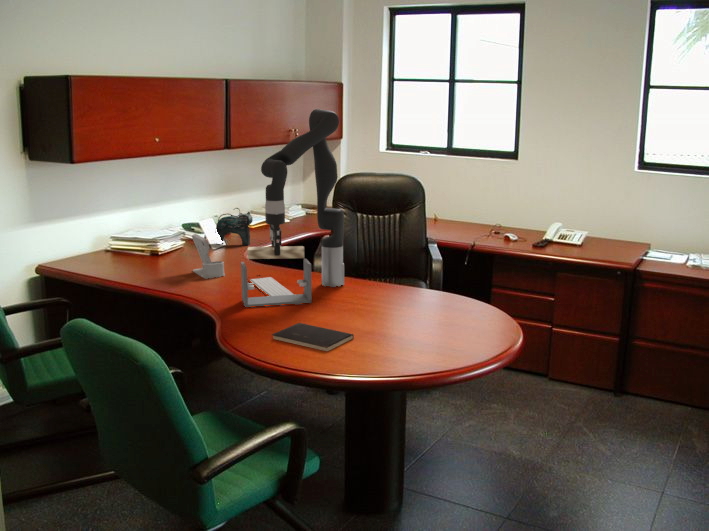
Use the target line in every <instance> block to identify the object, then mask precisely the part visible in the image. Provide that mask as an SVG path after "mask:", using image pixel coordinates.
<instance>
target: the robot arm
mask: <svg viewBox="0 0 709 531" xmlns="http://www.w3.org/2000/svg"><path fill="white" fill-rule="evenodd" d="M308 117H309V118H308V125H309V128H308V129H309V131H307V132H305V133H303V134H301V135H299V136H296V137H295V138H293V139H291V140H290V141H289V142H287V144H286V145H285V146H283V148H282V149H281V150H278V151H277V152H275V153H274V154H272V155H271V156H269V157H267V158H266V159H265V160H264V161H263V162H262V164H261V168H260V169H261V170H260V172H261V174H262V175H263V176H264V177H266V178H269V179H272V180H271V183H270V184H267V185H266V187H265V206H264V212H265V224H267V225H269V238H270V244H271V247H274V255H275V256H279V255H280V246H282V228H281V227H280V225H284V224H285V223H286V207H285V206H286V205H285V191H284V189H285V185H286V181H287V177H288V167H287V166H291V165H293V164H294V163H296V162H297V161H298V160H299V159H300V158H301V157H302V156H303V155H304V154H305V153H307V151H309V150H310V149H311V148H312V150H313V151H312V152H313V160H314V162H313V163H314V175H315V177H314V178H315V186H316V199H317V200H316V205H317V208H316V209H317V210H316V213H317V214H316V216H317V220H316V221H317V224H318V225H317V226H318V228H319V229H320V230H324V231H333V234H331V235H330V236H327V237H324V238H322V239H321V285H322V286H323V285H324V286H323V287H326V286H330V287H329V288H337V287H336V286H338V287H341V285H343V286H345V263H344V237H345V236H344V231H345V230H344V229H345V213H344V210H343V209H341V208H334V207H332V208H331V207H330V208H329V207H328V206H327V205H328V200H329V199H328V198H329V196H330V194H331V192H332V191H333V189H334V187H335V185H336V184H337V181H338V164H337V161H336V158H335V157H334V154H333V153H332V151H331V149H330V147H329V145H328V142H327V137H329V136H331V135H332V134H333V133H334V132H336V130H337V129H338V127H339V124H340V119H339V116H338V114H337V113H336V112H334V111H332V110H328V109H320V108H316V109H313V110H312V111H311V113H310V114H309V116H308Z"/></svg>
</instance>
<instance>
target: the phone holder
mask: <svg viewBox="0 0 709 531" xmlns="http://www.w3.org/2000/svg"><path fill="white" fill-rule="evenodd" d="M191 238H192V241H193V242H194V245H195V247H196V250H197V252H198V255H199V257H200V259H201V263H202V265H201V266H202V267H201V268H194V269H192V272H193V273H195V274H196V275H198V276H199V277H201V278H203V279H204V280H205V279H206V280H208V278H209V279H214V277H216V278H222V277H221V276H224V277H225V276H226V273H225V264H224V263H225V262H224V261H222V260H215V261H212V260H211V258H210V256H209V255H210V254H209V252H210V248H211V247H210V244H209V242H208V241H207V239H206V238H204V237H203V236H201V235H199V234H197V233H194V234H192V235H191Z"/></svg>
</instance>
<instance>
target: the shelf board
mask: <svg viewBox="0 0 709 531" xmlns="http://www.w3.org/2000/svg"><path fill="white" fill-rule="evenodd" d="M246 252H247V254H246V255H247V260H262V259H264V260H266V259H267V260H270V259H274V260H275V259H305V246H303V245H294V246H292V245H291V246H282V245H281V246H280V255H279V256H275V255H274V247H272V246H248V247H247V250H246Z"/></svg>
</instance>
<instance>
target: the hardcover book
mask: <svg viewBox="0 0 709 531" xmlns="http://www.w3.org/2000/svg"><path fill="white" fill-rule="evenodd" d="M271 336H272V338H273V340H277V341H280V342H285V343H291V344H295V345H299V346H301V347H302V346H303V347H308V348H312V349H315V350H320V351H324V352H329V351H331V350H333V349H336V348H337V347H339V346H341V345H343V344H345V343H346V342H349V341H351V340H353V339H354V334H353V333H349V332H346V331H345V332H343V331H341V330H340V331H339V330H335V329H330V328H326V327H320V326H316V325H312V324H307V323H304V322H303V323H302V322H298V323H295V324H293V325H290V326H289V327H286V328H284V329H281V330H279V331H276V332H273V333H272V334H271Z"/></svg>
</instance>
